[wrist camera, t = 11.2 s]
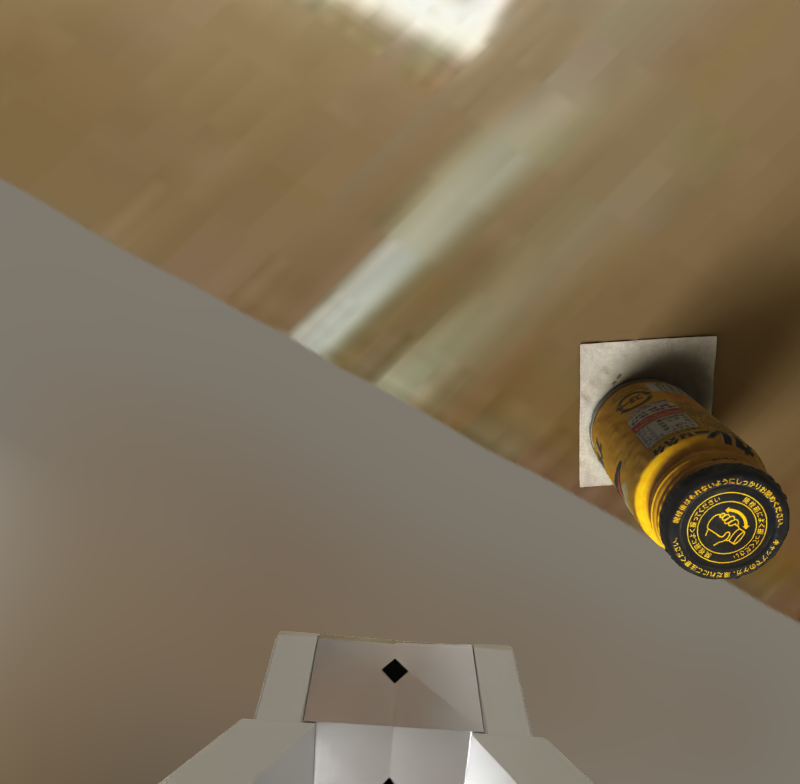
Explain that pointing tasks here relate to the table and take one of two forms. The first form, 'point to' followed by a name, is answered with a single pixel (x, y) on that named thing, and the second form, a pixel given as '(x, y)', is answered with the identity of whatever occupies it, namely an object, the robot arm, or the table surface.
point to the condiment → (677, 455)
